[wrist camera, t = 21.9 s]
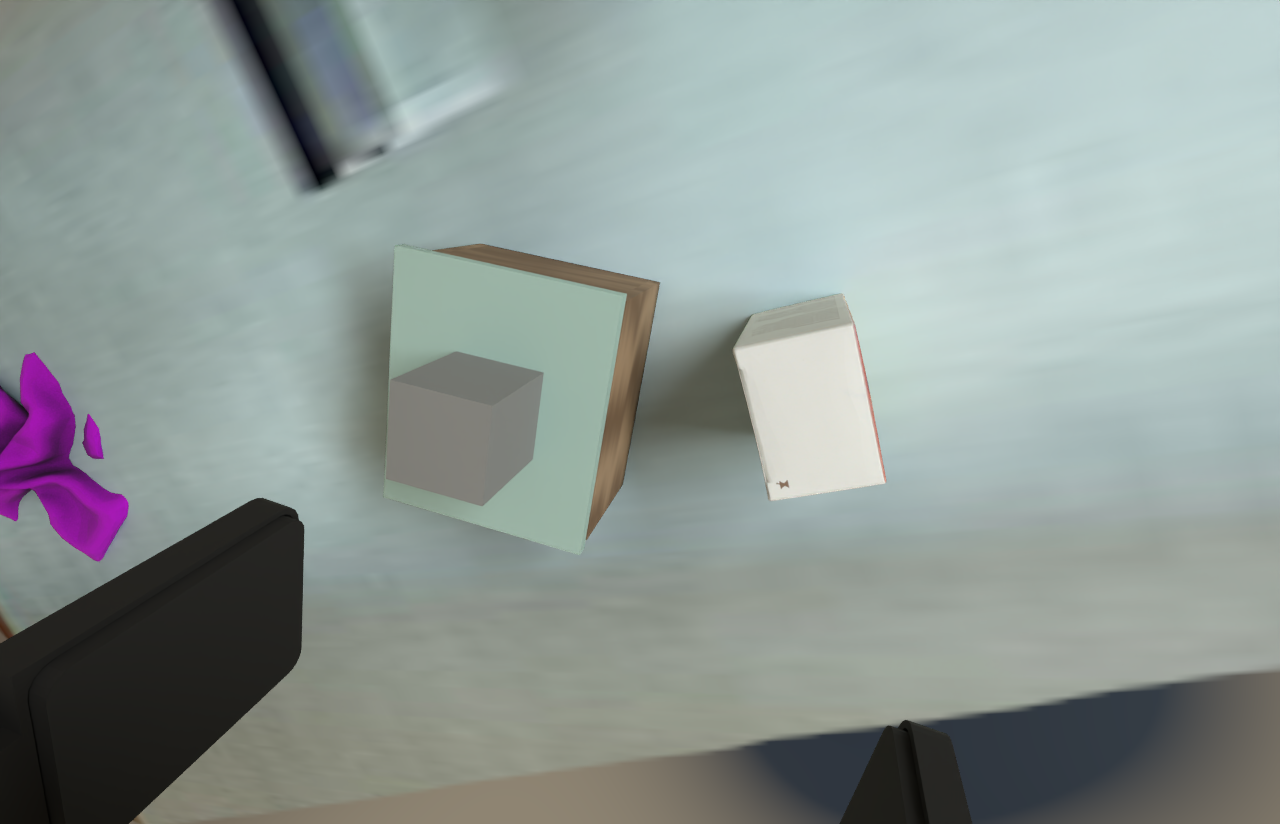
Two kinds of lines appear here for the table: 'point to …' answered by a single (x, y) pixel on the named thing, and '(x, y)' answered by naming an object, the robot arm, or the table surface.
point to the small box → (809, 399)
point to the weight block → (462, 426)
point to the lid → (526, 337)
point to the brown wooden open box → (627, 359)
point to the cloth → (54, 463)
